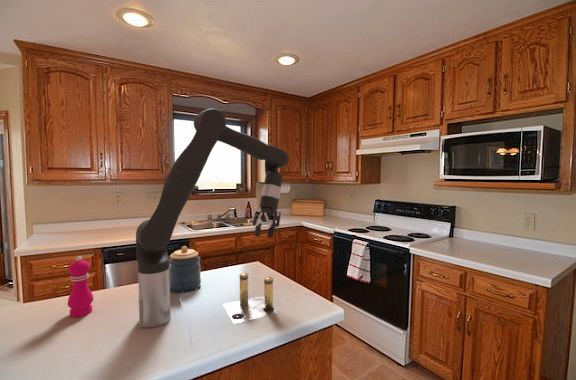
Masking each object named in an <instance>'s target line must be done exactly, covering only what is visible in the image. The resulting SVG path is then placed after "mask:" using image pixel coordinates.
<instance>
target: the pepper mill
mask: <svg viewBox="0 0 576 380" xmlns="http://www.w3.org/2000/svg"><path fill="white" fill-rule="evenodd" d="M90 270H91V265H90V263H89V262H88V261H87V260H84V259H83V257H82V256H81V255H78V256H77V257H75V261H73V262H72V263H70V264H69V266H68V270H67V271H68V273H69V274H70V281H71V282H72V289H71V292H70V294H69V296H68V297H67V298H68V299H67V307H68V308H69V309H70V310H69V316H70V317H71V318H79V317H80V318H81V317H85V316H87V315H89V314H91V313H92V311H93V305H92V303H93V302H94V295H93V293H92V291H91V289H90V288H89V285H88V278H89V271H90Z"/></svg>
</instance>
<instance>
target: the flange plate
mask: <svg viewBox="0 0 576 380" xmlns="http://www.w3.org/2000/svg"><path fill="white" fill-rule="evenodd" d="M222 306H223V308H224V310H225V311H226V313H227V315H228V317H229V318H230V320H231V321H232V324H233V325H235V324H239V323H240V324H241V323H244V322H247V321H252V320H256V319H260V318H265V317H269V316H273V315H277V314H280V313H281V312H280V311H279V310H278V309H277V308H276V306H274V305H273V310H272V311H265V310H264V295H262V296H261V295H260V296H256V297H251V298H248V305H247V306H241V305H240V300H236V301H231V302H227V303H223V304H222Z"/></svg>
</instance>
